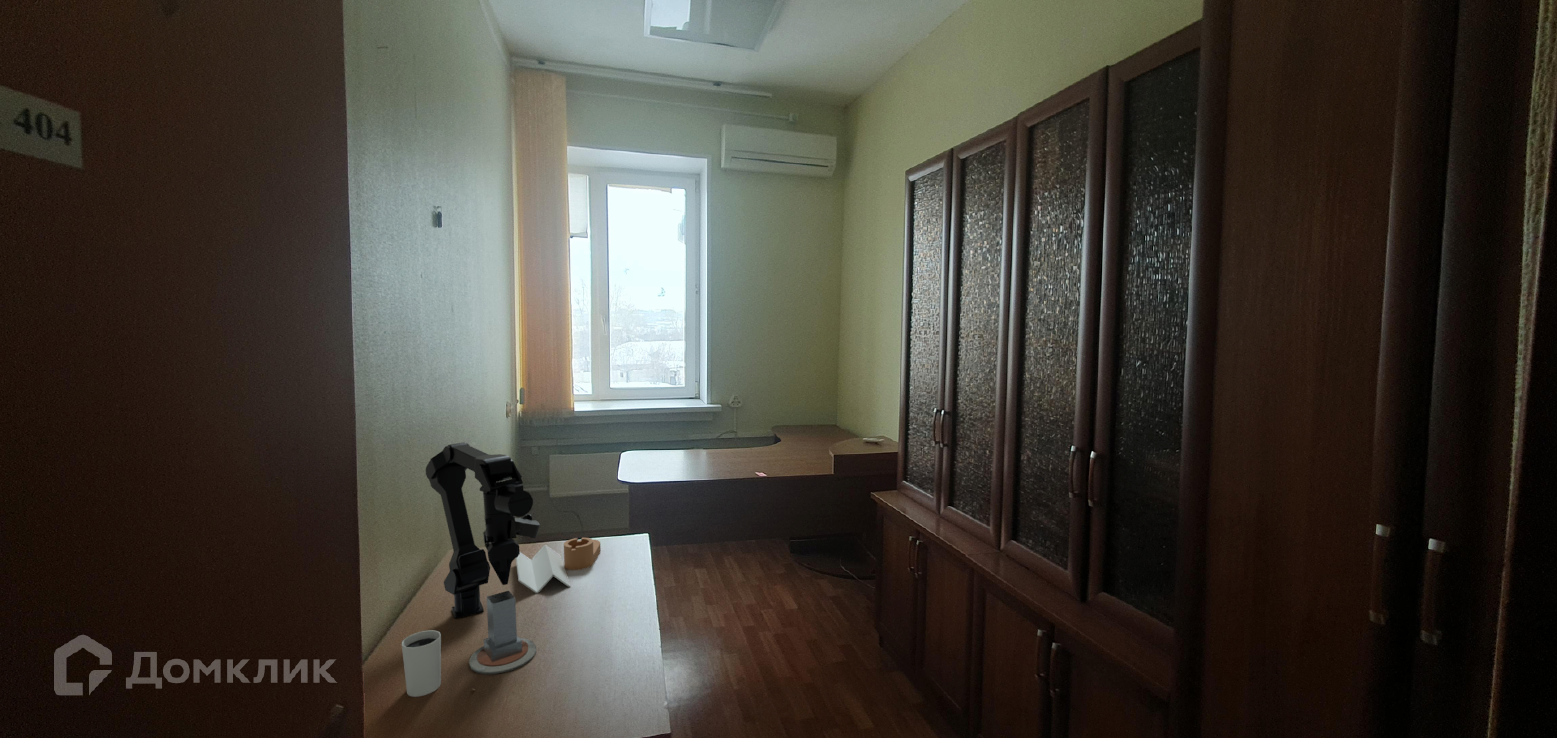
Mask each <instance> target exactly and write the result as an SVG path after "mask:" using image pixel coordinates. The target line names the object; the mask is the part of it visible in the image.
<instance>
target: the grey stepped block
mask: <svg viewBox="0 0 1557 738" xmlns="http://www.w3.org/2000/svg"><path fill="white" fill-rule="evenodd" d="M516 608H517V607H516V596H514V595H513V593H512V592H511V591H510V590H506V591H503V592H499V593H496V594H490V595H488V596H486V612H487V613H486V614H487V638H486V637H485V638H484V639H483V646H484V651H485V652H486V654H487V655H488V657H489V658H490V660H491V661H492V662H494V661H497V660H500V659H503V658H506V657H509V656H512V655H515V654H518V653H521V652H522V640H521V639H520V638H521V637H519V636H518V632H517V630H518V629H517V609H516Z"/></svg>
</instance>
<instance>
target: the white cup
mask: <svg viewBox="0 0 1557 738" xmlns="http://www.w3.org/2000/svg"><path fill="white" fill-rule="evenodd" d="M401 651H402V659H403V667H404V670H403V671H404V676H405V687H406V693H407V695H408V696H409V697H415V698H417V697H423V696H426V695H429V694H432V693H433V692H435V691H437V690H438V689H439V688H440V687H441V683H442V675H441V674H442V665H441V664H442V655H441V654H442V635H441V632H440V631H438V630H432V629H431V630H430V629H429V630H423V631H419V632H415V633H412V634H410V635H408V636H407V637H405V638H404V639H403V640H402V642H401Z"/></svg>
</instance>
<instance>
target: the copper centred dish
mask: <svg viewBox="0 0 1557 738" xmlns="http://www.w3.org/2000/svg"><path fill="white" fill-rule="evenodd" d="M519 638H520V639H521V640H522V652H521V653H518V654H515V655H512V656H509V657H506V658H503V659H500V660H497V661H494V662H492V661H491V660H490V658H489V657H488V655H487V654H486V652H485V651H484V645H482V646H481V647H479V648H478V649H476V651H474V652H473V653H472V654H471V656H470V657H469V661H468V662H469V663H468V664H469V669H470V670H471V671H472V672H474V673H476V674H480V675H498V674H503V673H508V672H511V671H515V670H517V669H519V668H521V667H523V666H524V665H526V664H527V663H529V662H530V661H532V660H533V658H534V657H535V655H536V653H537V646H536V643H535V642H534V641H532V640H530V639H528V638H524V637H519Z"/></svg>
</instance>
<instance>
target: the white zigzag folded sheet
mask: <svg viewBox="0 0 1557 738" xmlns="http://www.w3.org/2000/svg"><path fill="white" fill-rule="evenodd" d="M515 562H516V572H517V578H518V579H517V580H518V582H519V583H520V584H522V585H524V586H525V587H526V588H528V589H529V590H531V591H532V592H534V594H539V593H540V592H541V591H542V589H543V588H545V586H547V584H548V583H549V581H551V580H552V578H553V577H554V578H556V579H557V580H558V581H560V582H561V583H563V584H564V585H565V586H567V587H568V588H572V586H571V584H570V580H569V577H568V574H567V569H566V568H565V567H564V560H563V557H562V556H561V554H559V553H558V552H557V551H555V550H554V549H553V548H551V547H549V545H547V544H544V545H543V546H542V547H541V548H540V549H539V551H538V552H536V554H535V555H534V556H532V558H529V557H528V556H527V555H525V554H524V553H522V551H520V554H519V556H518V557H517V558H515Z"/></svg>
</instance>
